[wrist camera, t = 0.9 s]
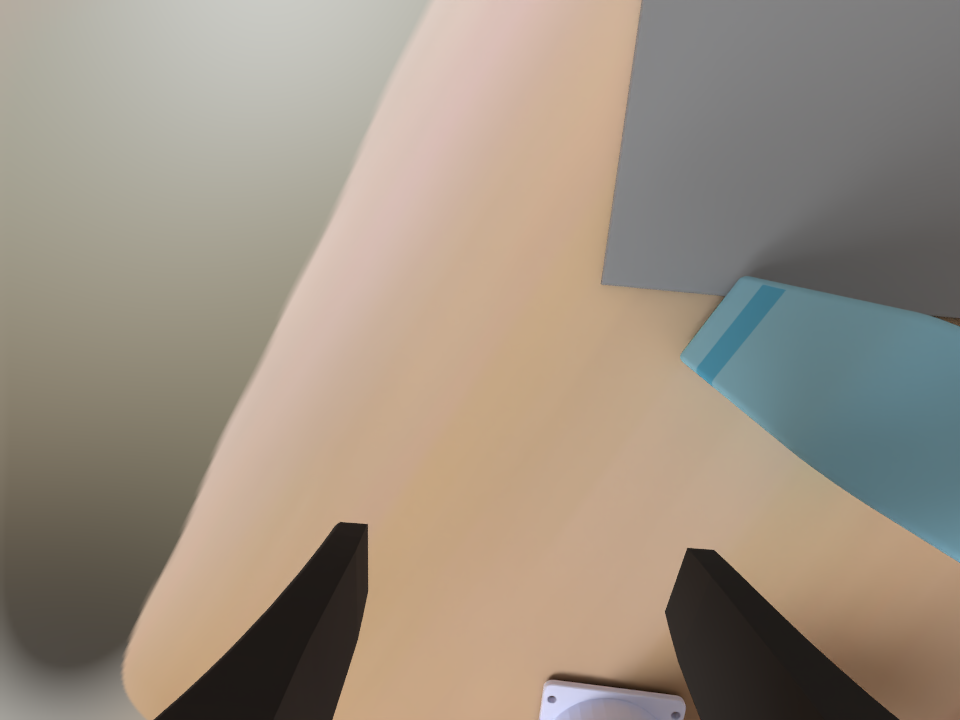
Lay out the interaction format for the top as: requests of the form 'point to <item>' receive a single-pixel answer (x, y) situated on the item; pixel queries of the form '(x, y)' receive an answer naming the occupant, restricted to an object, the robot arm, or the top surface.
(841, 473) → the blue square block
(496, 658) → the top surface
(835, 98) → the mat
